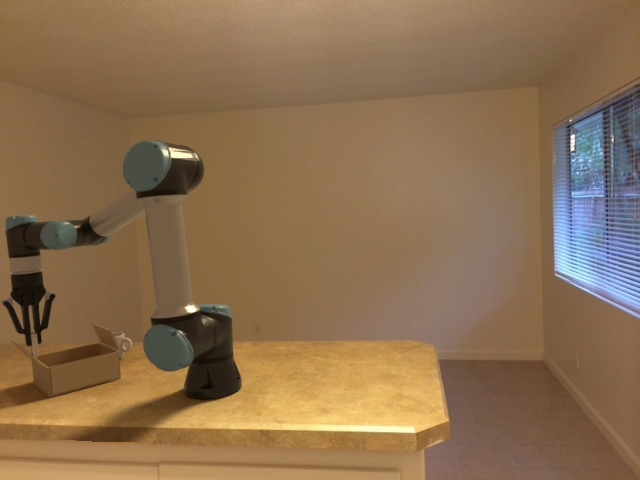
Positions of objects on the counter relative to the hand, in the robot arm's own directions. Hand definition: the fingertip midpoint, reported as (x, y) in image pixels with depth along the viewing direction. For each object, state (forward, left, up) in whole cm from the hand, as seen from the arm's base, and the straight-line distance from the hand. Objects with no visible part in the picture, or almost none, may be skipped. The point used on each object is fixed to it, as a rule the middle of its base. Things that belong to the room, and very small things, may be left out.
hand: (35, 356), depth 137 cm
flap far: (0, -20, -2) cm, 20 cm away
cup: (+14, -27, -10) cm, 32 cm away
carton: (0, -10, -10) cm, 14 cm away
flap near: (0, 0, -2) cm, 2 cm away
